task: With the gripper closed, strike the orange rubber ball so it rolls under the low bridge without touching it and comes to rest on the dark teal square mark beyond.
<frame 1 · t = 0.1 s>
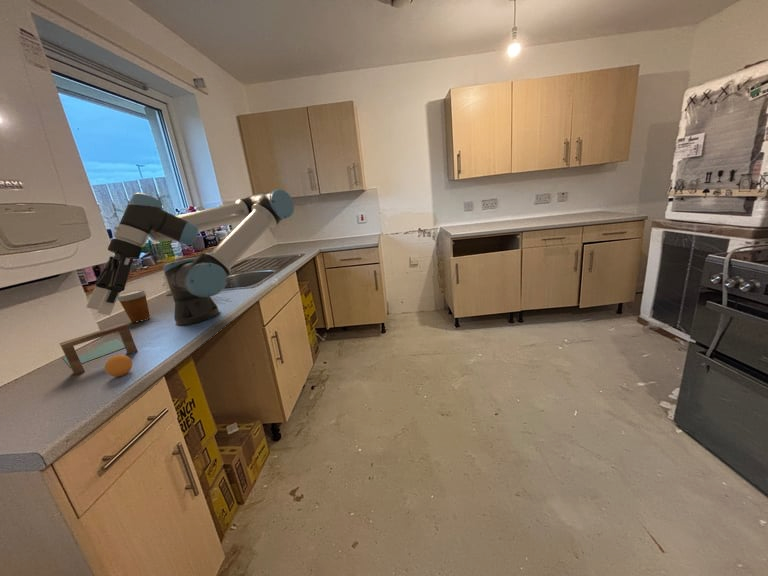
hand: (97, 311, 88), 15 cm above the countertop, tool tilted 35°, fingers open, 13 cm apart
ball: (118, 365, 82), on the countertop
bridge: (107, 361, 92), on the countertop
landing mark: (95, 352, 100), on the countertop
disposable coffee cup: (141, 320, 129), on the countertop
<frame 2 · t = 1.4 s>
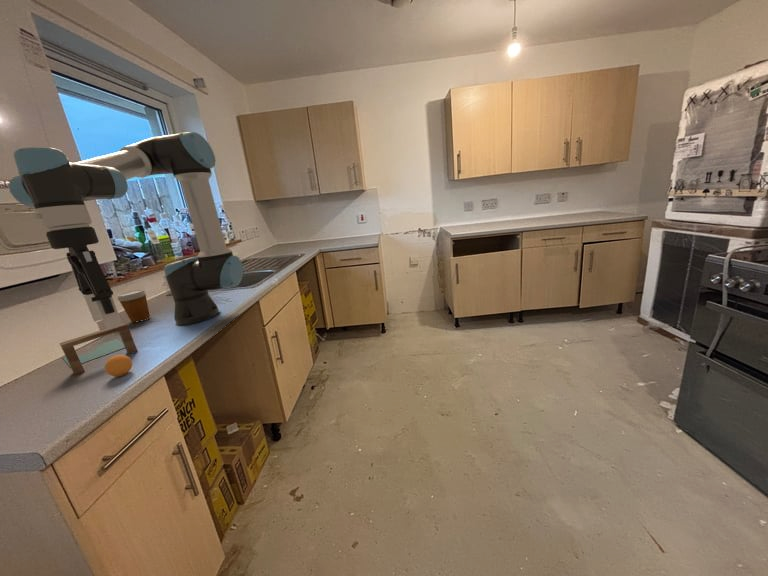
hand: (107, 323, 72), 16 cm above the countertop, tool pointing down, fingers open, 11 cm apart
nothing on the countertop moved.
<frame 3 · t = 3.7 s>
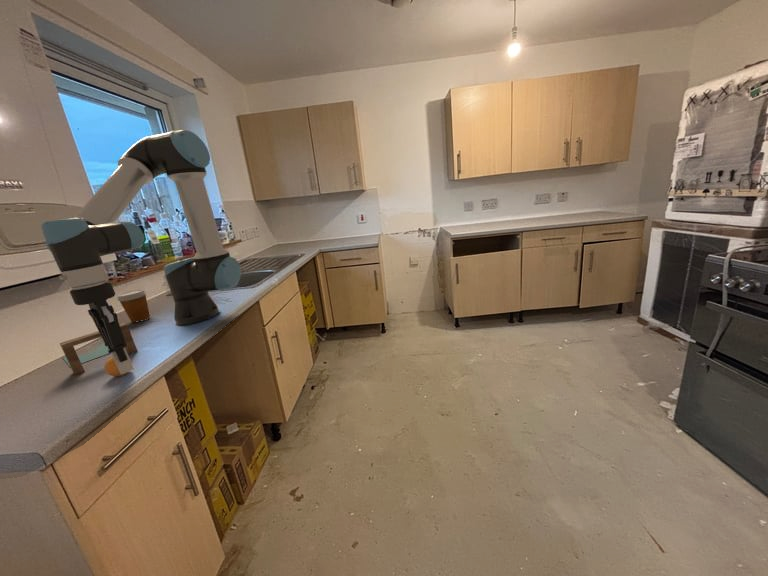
hand: (127, 371, 81), 1 cm above the countertop, tool pointing down, fingers closed
ball: (118, 365, 82), on the countertop, touching gripper
everything else where it was.
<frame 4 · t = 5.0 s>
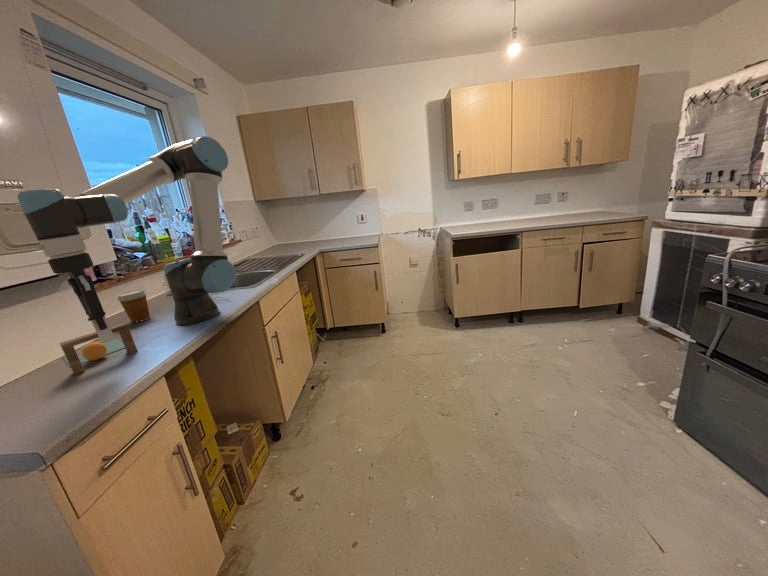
hand: (107, 339, 84), 9 cm above the countertop, tool pointing down, fingers closed
ball: (94, 351, 94), on the countertop
everything else where it was.
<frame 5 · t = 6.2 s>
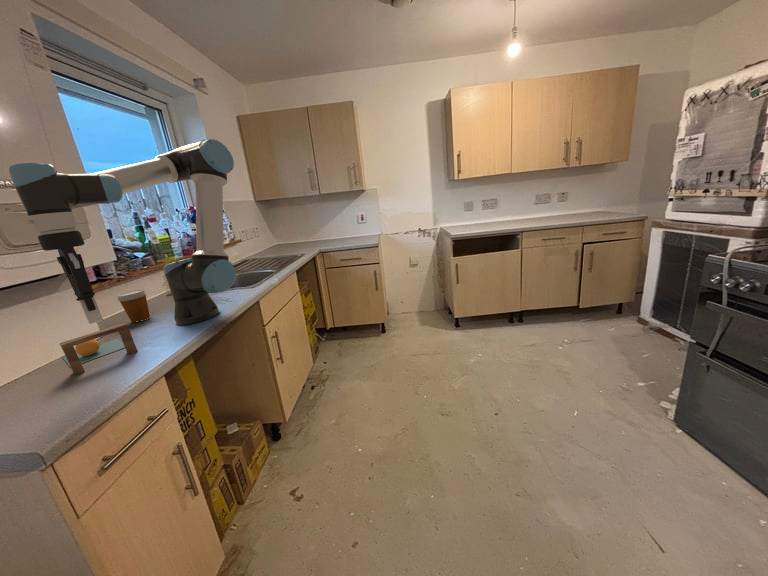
hand: (96, 321, 82), 14 cm above the countertop, tool pointing down, fingers closed
ball: (87, 347, 98), on the countertop
everything else where it was.
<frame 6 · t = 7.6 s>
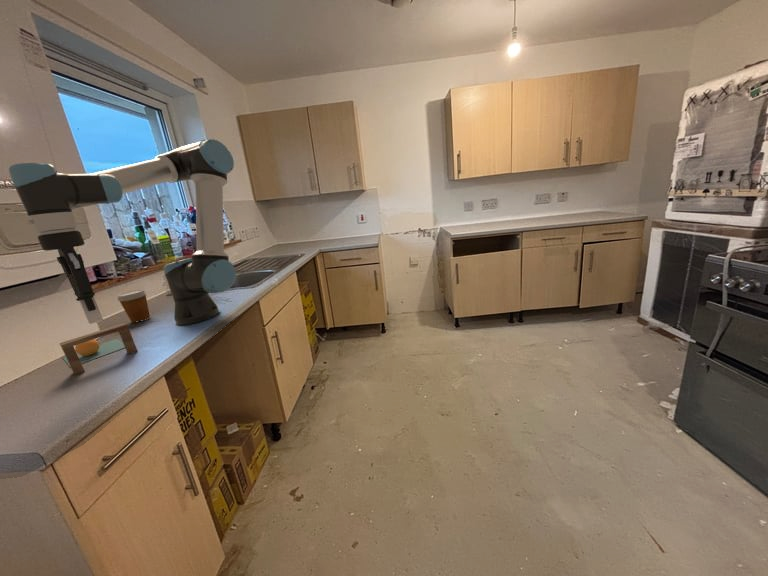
hand: (96, 321, 82), 14 cm above the countertop, tool pointing down, fingers closed
nothing on the countertop moved.
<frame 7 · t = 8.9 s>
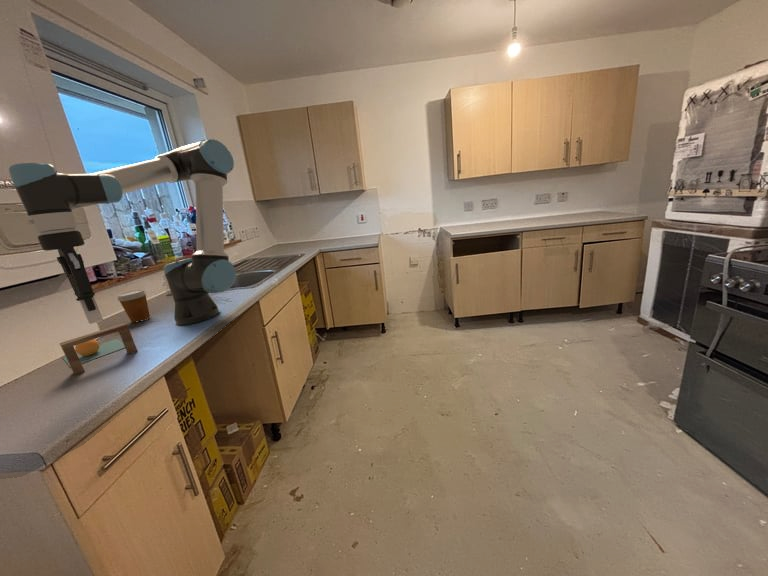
hand: (96, 321, 82), 14 cm above the countertop, tool pointing down, fingers closed
nothing on the countertop moved.
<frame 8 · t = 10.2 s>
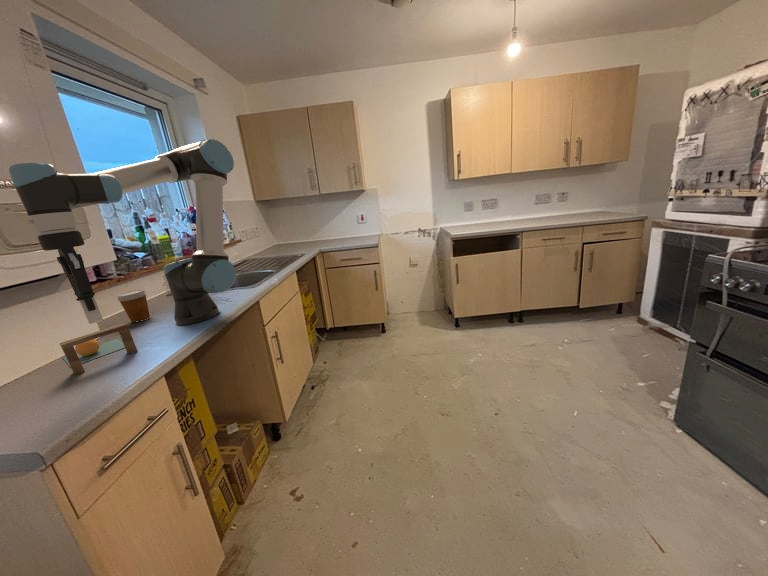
hand: (96, 321, 82), 14 cm above the countertop, tool pointing down, fingers closed
nothing on the countertop moved.
at the end: ball 1.8 cm from the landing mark (horizontally); ball never touched bridge; ball at rest at the end (0.0 cm/s) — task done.
